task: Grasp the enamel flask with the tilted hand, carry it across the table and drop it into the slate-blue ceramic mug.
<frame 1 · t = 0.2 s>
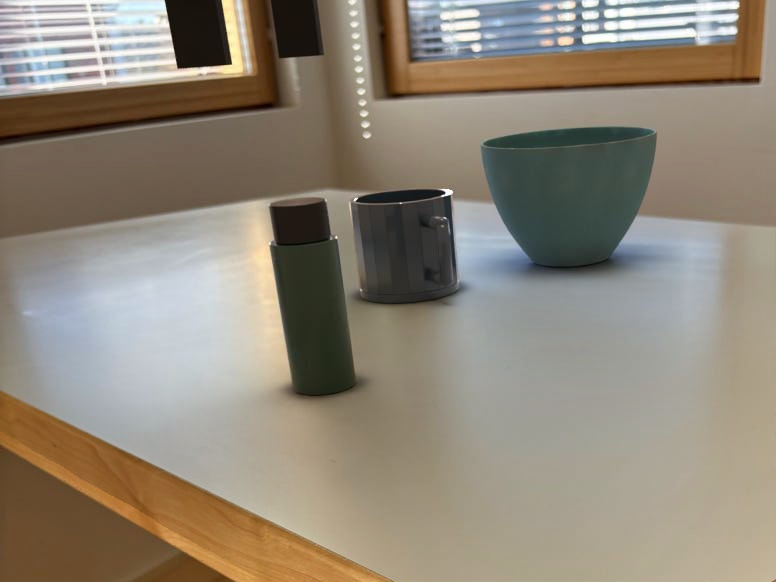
hand: (258, 62, 58), 22 cm above the table, tool pointing down, fingers open, 13 cm apart
green bowl: (570, 261, 113), on the table
flask: (324, 385, 78), on the table
mug: (410, 291, 105), on the table
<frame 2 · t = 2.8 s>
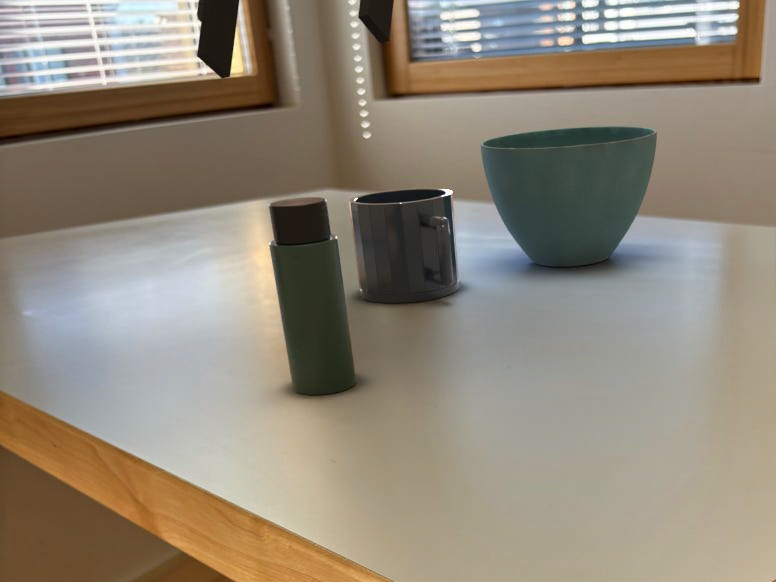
hand: (290, 49, 71), 22 cm above the table, tool tilted 35°, fingers open, 13 cm apart
nothing on the table moved.
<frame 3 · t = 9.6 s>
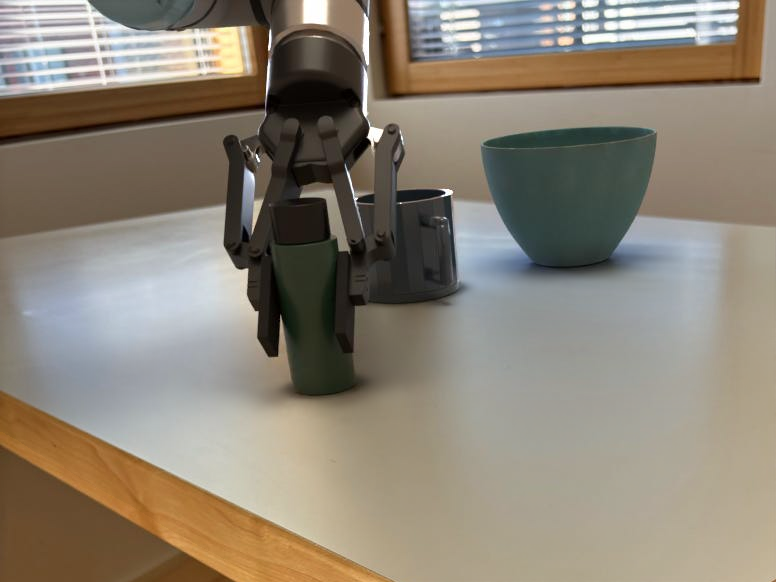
hand: (306, 344, 73), 4 cm above the table, tool tilted 45°, fingers closed on flask, 5 cm apart
flask: (324, 385, 78), on the table, touching gripper
everything else where it was.
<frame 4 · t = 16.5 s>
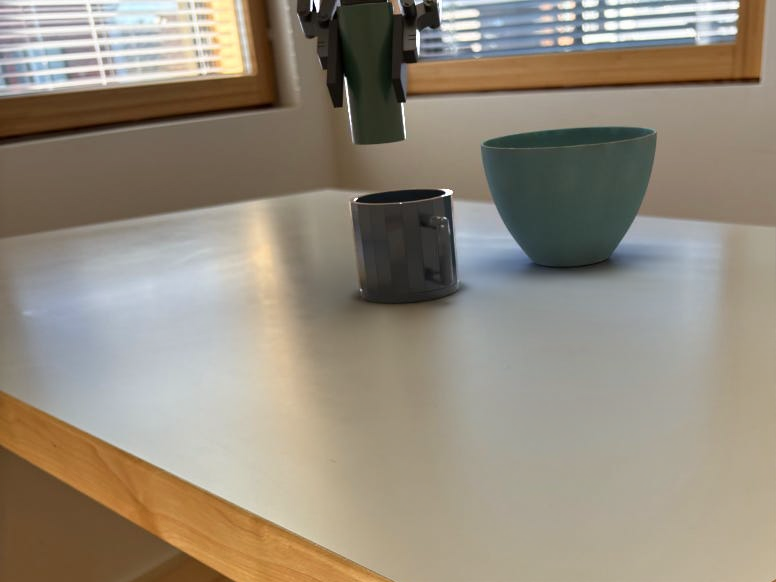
hand: (366, 92, 87), 18 cm above the table, tool tilted 45°, fingers closed on flask, 5 cm apart
flask: (379, 141, 92), point 14 cm above the table, touching gripper
everything else where it was.
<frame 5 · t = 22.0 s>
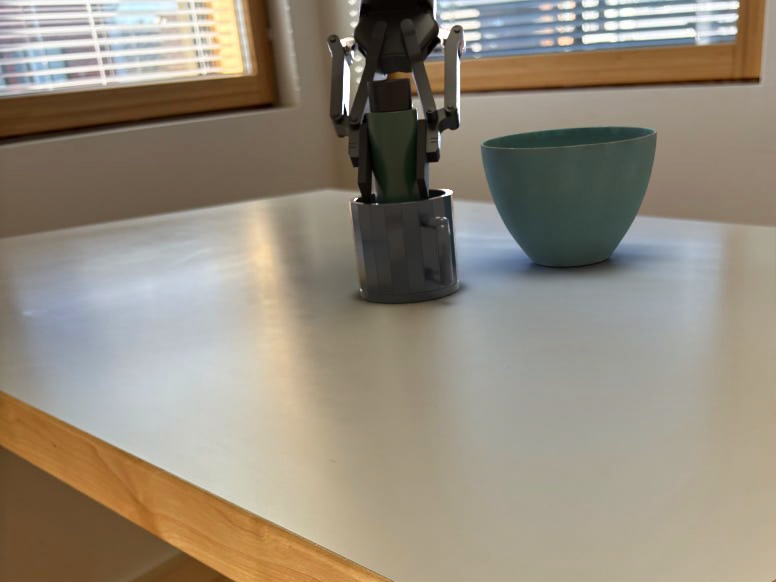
hand: (393, 190, 96), 10 cm above the table, tool tilted 45°, fingers closed on flask, 5 cm apart
flask: (403, 229, 102), point 6 cm above the table, touching gripper
everything else where it was.
when the fingers open (11 cm above the table, at t = 23.5 s): flask drops 6 cm, resting on mug.
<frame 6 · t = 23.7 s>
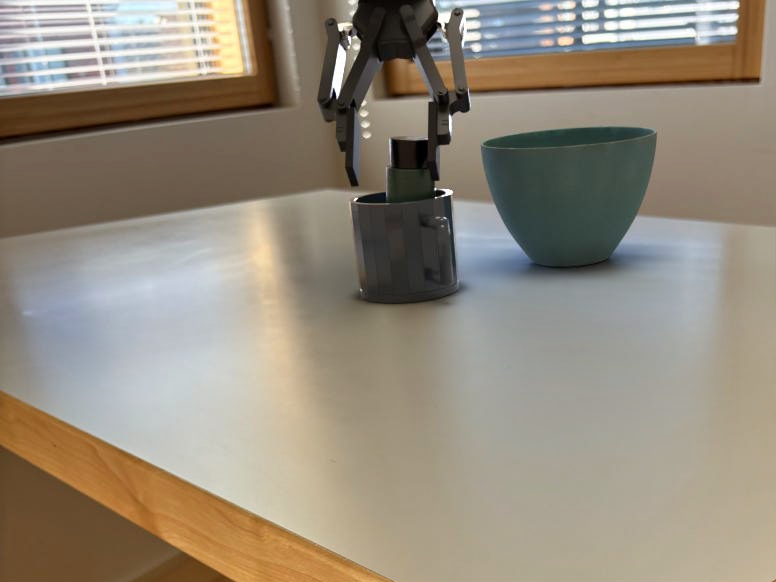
hand: (392, 173, 96), 11 cm above the table, tool tilted 45°, fingers open, 7 cm apart
flask: (411, 280, 104), point 1 cm above the table, tilted 5°, touching gripper, mug
everything else where it was.
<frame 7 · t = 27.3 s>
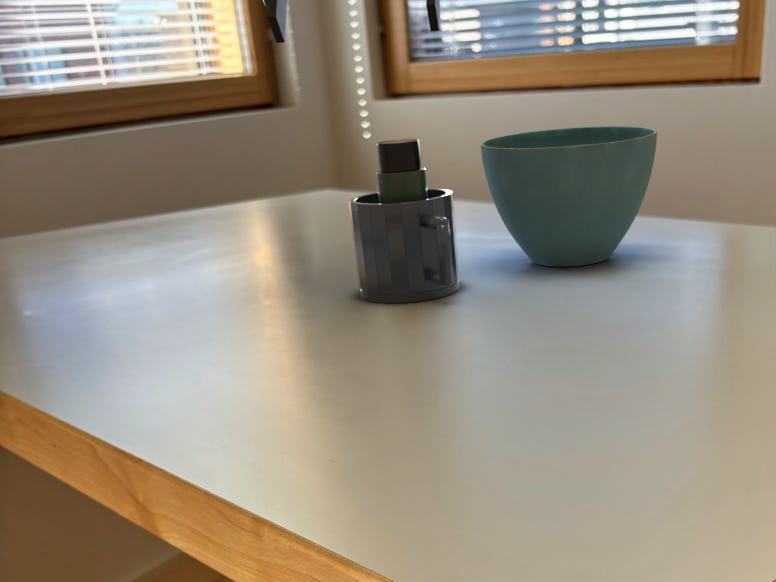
hand: (354, 24, 88), 23 cm above the table, tool tilted 45°, fingers open, 13 cm apart
flask: (411, 282, 104), point 1 cm above the table, touching mug
everything else where it was.
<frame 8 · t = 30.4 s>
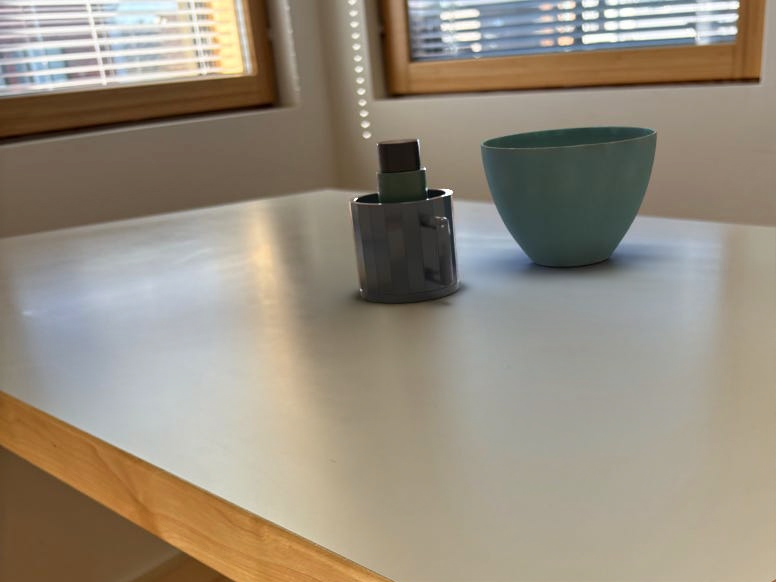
nothing on the table moved.
at the end: flask 0.3 cm off-centre in the mug, point 0.8 cm above the mug's base; flask tilted 0°; the gripper is holding nothing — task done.
